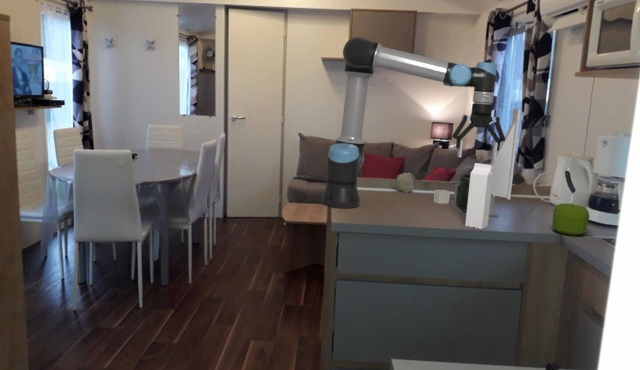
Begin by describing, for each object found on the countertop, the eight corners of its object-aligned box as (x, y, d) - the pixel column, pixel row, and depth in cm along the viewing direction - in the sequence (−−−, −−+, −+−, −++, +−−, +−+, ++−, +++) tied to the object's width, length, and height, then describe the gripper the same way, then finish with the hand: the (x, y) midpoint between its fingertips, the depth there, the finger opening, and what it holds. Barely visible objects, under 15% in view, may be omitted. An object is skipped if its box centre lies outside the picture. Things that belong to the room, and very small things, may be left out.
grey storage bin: (463, 215, 200) (466, 193, 199) (448, 202, 224) (450, 181, 222) (497, 217, 200) (500, 194, 199) (479, 203, 224) (481, 183, 222)
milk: (471, 223, 189) (477, 162, 185) (488, 226, 186) (494, 164, 182) (464, 226, 184) (471, 163, 181) (481, 229, 181) (488, 165, 177)
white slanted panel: (475, 189, 259) (483, 106, 252) (505, 191, 256) (515, 108, 248) (476, 196, 240) (486, 107, 233) (510, 199, 237) (520, 109, 229)
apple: (555, 236, 177) (559, 204, 175) (547, 228, 188) (551, 198, 186) (590, 239, 175) (595, 207, 174) (580, 231, 186) (585, 200, 184)
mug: (482, 204, 219) (485, 175, 216) (488, 211, 204) (492, 181, 202) (455, 202, 220) (458, 173, 218) (460, 209, 205) (463, 179, 203)
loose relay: (438, 203, 220) (439, 191, 219) (433, 201, 224) (434, 190, 223) (448, 203, 222) (450, 191, 221) (443, 201, 226) (444, 189, 225)
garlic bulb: (413, 197, 243) (422, 178, 240) (403, 196, 236) (413, 176, 234) (397, 187, 249) (406, 168, 246) (387, 186, 242) (397, 167, 240)
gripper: (452, 101, 200) (447, 157, 204) (518, 105, 201) (511, 160, 205) (448, 101, 208) (442, 154, 212) (511, 104, 208) (504, 158, 212)
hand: (476, 157), depth 208 cm, fingers open, 13 cm apart
